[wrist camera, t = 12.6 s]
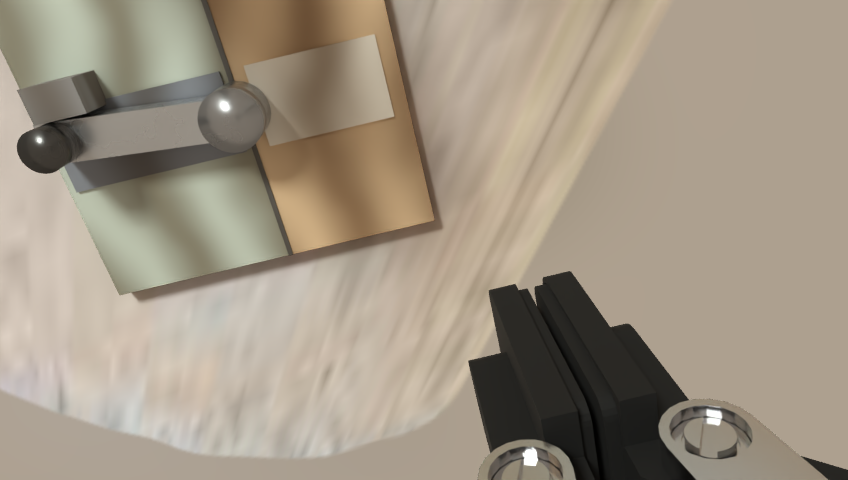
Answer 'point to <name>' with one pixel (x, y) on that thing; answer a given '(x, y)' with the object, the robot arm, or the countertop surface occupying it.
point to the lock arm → (151, 128)
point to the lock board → (204, 164)
